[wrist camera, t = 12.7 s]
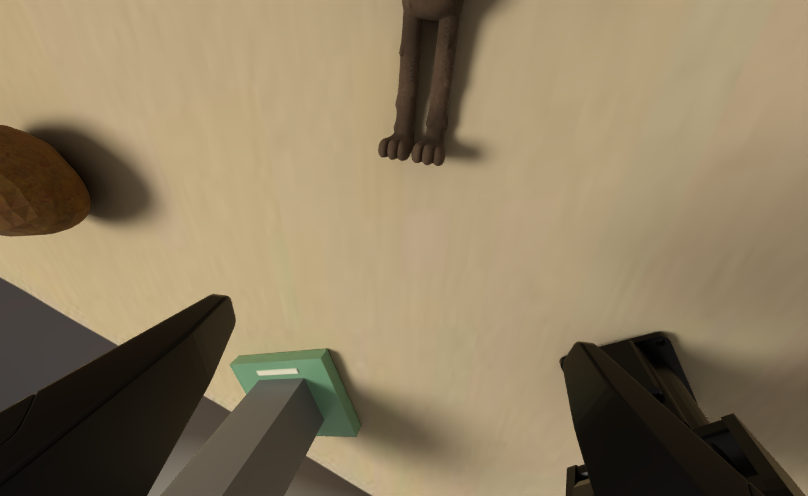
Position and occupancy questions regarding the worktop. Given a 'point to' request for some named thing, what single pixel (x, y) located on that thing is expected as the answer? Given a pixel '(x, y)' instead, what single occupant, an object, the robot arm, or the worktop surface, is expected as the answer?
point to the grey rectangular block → (255, 444)
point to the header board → (318, 378)
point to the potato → (37, 187)
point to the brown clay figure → (418, 4)
